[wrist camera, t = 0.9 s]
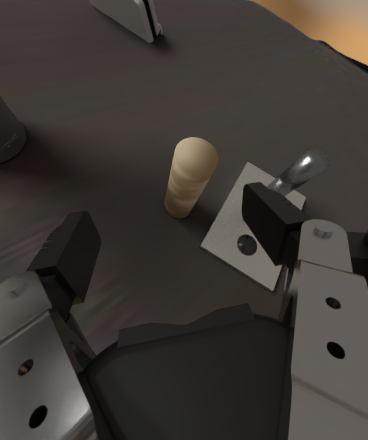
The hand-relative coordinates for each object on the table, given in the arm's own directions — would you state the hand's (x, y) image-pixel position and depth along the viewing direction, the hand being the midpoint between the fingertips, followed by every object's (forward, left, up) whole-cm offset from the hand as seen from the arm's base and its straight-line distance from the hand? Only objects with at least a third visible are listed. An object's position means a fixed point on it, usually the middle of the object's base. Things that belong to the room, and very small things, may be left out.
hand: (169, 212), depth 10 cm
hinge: (-35, +40, -18) cm, 56 cm away
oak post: (-2, +9, -18) cm, 20 cm away
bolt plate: (+10, +14, -18) cm, 25 cm away
